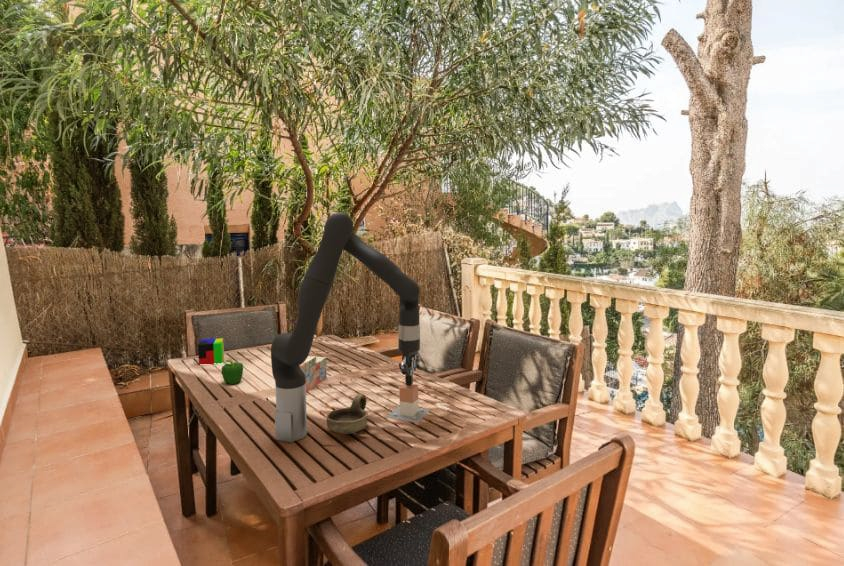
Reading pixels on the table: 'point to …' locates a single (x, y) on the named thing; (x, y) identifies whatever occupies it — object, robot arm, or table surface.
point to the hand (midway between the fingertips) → (409, 384)
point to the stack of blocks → (314, 370)
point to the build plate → (415, 418)
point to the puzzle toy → (211, 351)
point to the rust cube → (409, 393)
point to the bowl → (349, 417)
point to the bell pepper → (232, 372)
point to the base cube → (408, 408)
